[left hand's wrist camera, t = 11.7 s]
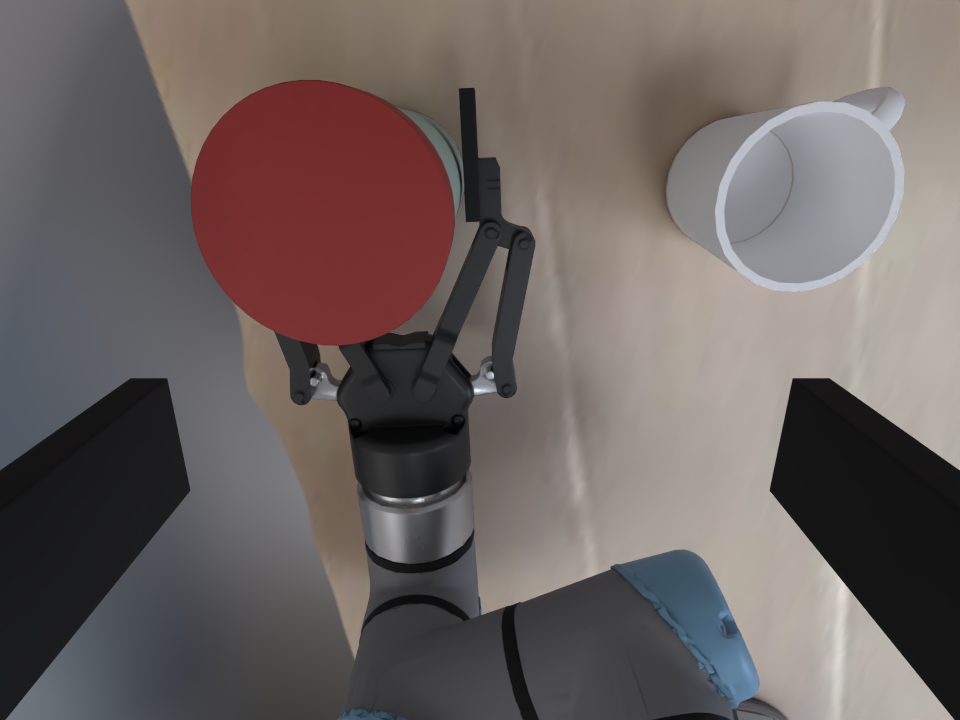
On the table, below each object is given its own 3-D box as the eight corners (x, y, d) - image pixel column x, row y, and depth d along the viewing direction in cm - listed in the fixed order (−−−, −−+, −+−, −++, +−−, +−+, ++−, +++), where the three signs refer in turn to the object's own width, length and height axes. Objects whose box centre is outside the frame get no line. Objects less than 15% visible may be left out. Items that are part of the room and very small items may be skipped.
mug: (721, 279, 40) (794, 326, 31) (628, 192, 38) (676, 213, 29) (853, 149, 37) (981, 155, 28) (760, 46, 35) (863, 15, 26)
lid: (427, 61, 20) (420, 53, 18) (474, 305, 23) (473, 323, 21) (184, 112, 20) (149, 110, 18) (261, 342, 24) (239, 364, 21)
